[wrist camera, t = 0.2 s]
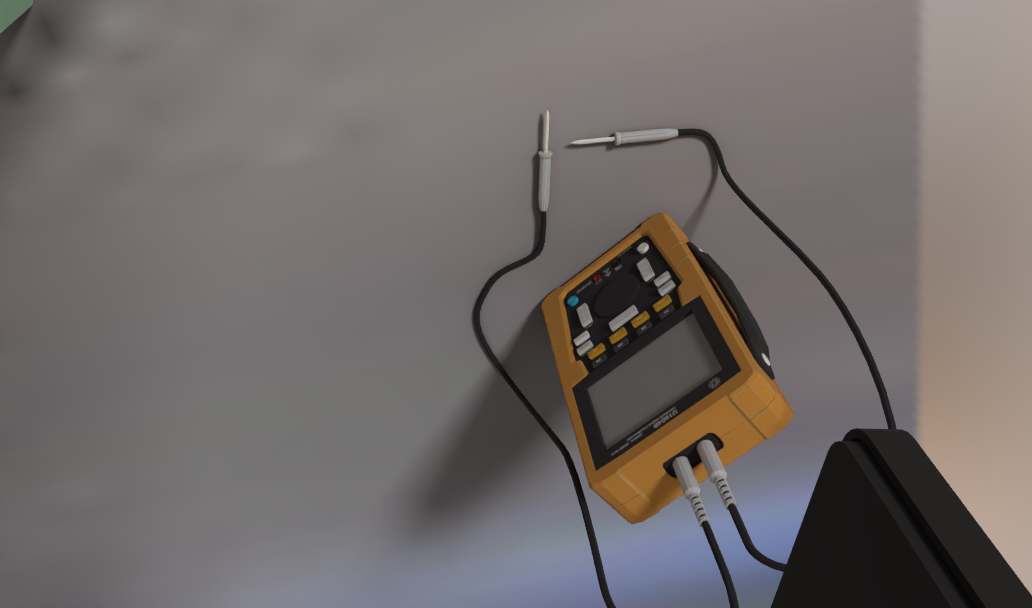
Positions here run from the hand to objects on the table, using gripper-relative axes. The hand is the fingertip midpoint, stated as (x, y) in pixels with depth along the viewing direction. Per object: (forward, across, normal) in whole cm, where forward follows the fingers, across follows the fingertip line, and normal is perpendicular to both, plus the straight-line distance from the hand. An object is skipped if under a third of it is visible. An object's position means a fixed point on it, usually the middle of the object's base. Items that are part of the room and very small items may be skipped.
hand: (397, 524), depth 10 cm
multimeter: (+31, -9, +11) cm, 34 cm away
